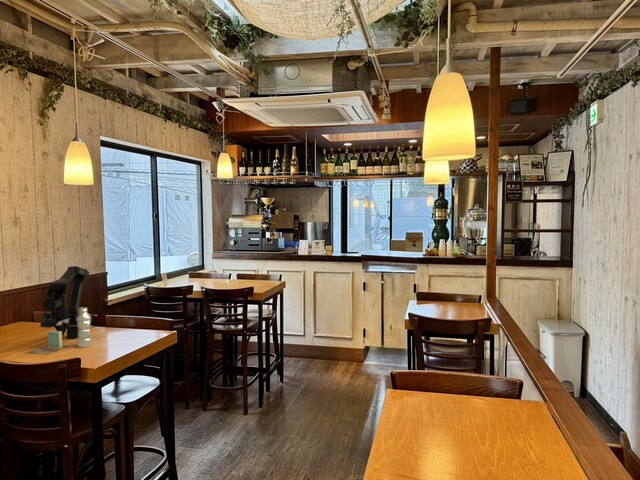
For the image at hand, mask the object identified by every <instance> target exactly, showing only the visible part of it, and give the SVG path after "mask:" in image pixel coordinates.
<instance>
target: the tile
mask: <svg viewBox="0 0 640 480" xmlns="http://www.w3.org/2000/svg"><path fill="white" fill-rule="evenodd" d="M47 345H48V347H53V348H61V347H62V345H63V337H62V331H57V330H48V331H47Z"/></svg>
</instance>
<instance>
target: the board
mask: <svg viewBox="0 0 640 480" xmlns="http://www.w3.org/2000/svg"><path fill="white" fill-rule="evenodd" d="M70 347H72V345H63V344H62V347H61V348H53V347H48V344H47V345H44V346H42V347H38V348H35V349H32V350H30V351H27V352H25V354H28V355H29V354H31V355H44V356H49V355H52V354H54V353H57V352H60V351H62V350H65V349H68V348H70Z"/></svg>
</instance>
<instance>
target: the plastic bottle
mask: <svg viewBox="0 0 640 480" xmlns="http://www.w3.org/2000/svg"><path fill="white" fill-rule="evenodd" d="M88 311H89V310H88V307H86V306H85V307H83V306H81V307H79V312H80V313H79V314H78V316H77V318H76V321H77V326H78V338H77V339H76V340H77V342H76V345H77V347H78V348H80V349H84V348H89V347H92V345H93V339H92V338H93V337H92V333H91V323H92V315H91V314H89V312H88Z"/></svg>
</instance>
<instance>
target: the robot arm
mask: <svg viewBox="0 0 640 480" xmlns="http://www.w3.org/2000/svg"><path fill="white" fill-rule="evenodd" d="M89 276H90V271H89V270H88V269H86V268H83V267H79V266H78V265H77V266H74V265H73V266H68V267H67V270H66V271H65V272H63V275H61V277H60V278H59V279H56V280H55V279H54V280H53V281H51V283H50V285H49V287H48V290H47V293H46V300H44V302H43V304H42V307H43V309H44V310H46V311H45V312H42V313H41V316H40V317H41V319H42V321H41V322H40V324H39V325H40V328H53V327H54V328H55V331H62V338H63V337H64V336H65V333H66V337H65V338H64V339H66V340H78V326H77V321H76V318H77V316H78V314H79V313H80V312H79V308H80V305H81V300H82V299H81V298H82V295H83V293H82V292H83V288H84V287H83V286H84V285H85V284H86V283H87V282H88V280H89V279H88V278H89ZM71 282H72V283H73V284H72V288H71V294H70V300H69V306H68V307H67V296H68V294H67V293H68V291H69V289H70V286H69V285H70V283H71ZM49 311H50V312H49ZM48 312H49V313H48Z"/></svg>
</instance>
